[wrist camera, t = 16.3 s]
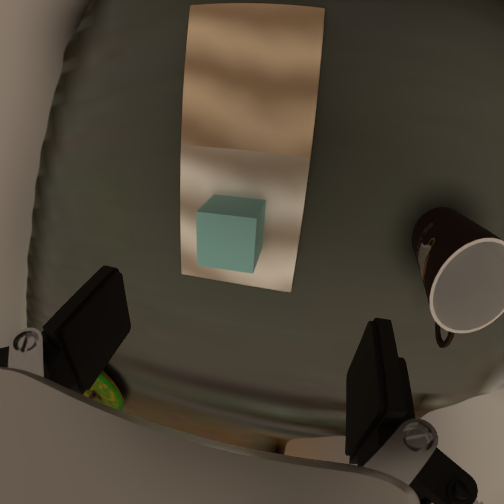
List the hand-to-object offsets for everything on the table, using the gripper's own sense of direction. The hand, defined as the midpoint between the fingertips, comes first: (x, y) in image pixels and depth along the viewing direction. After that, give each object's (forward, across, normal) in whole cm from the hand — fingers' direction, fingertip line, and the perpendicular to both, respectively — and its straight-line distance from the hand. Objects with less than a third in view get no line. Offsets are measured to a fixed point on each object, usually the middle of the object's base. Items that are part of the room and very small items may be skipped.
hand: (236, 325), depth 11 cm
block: (+20, +4, +5) cm, 21 cm away
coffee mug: (+21, -16, +5) cm, 27 cm away
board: (+21, +4, -2) cm, 21 cm away
